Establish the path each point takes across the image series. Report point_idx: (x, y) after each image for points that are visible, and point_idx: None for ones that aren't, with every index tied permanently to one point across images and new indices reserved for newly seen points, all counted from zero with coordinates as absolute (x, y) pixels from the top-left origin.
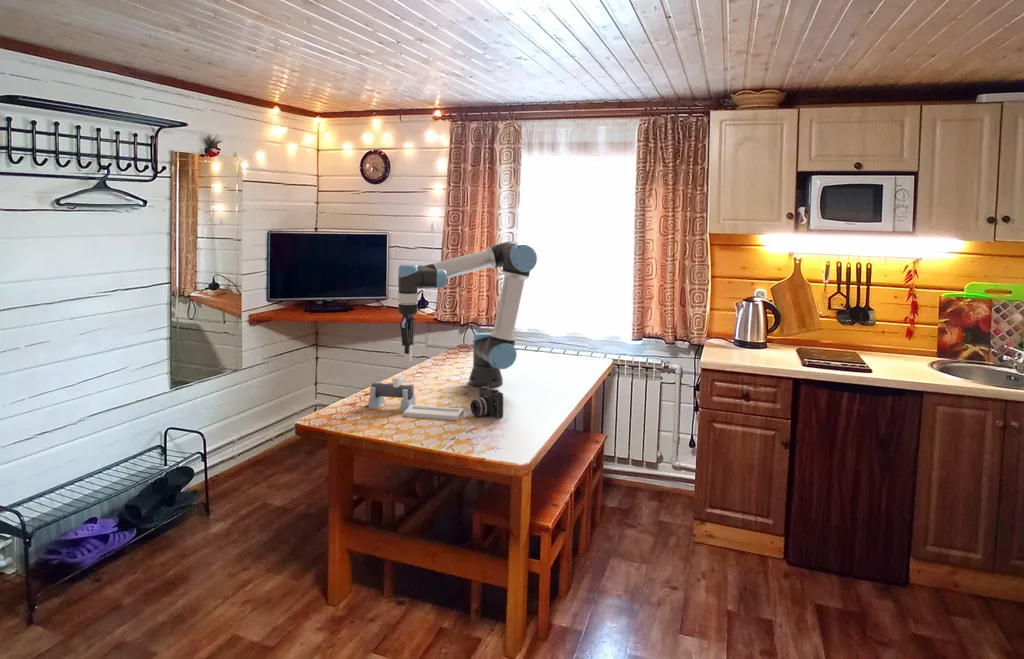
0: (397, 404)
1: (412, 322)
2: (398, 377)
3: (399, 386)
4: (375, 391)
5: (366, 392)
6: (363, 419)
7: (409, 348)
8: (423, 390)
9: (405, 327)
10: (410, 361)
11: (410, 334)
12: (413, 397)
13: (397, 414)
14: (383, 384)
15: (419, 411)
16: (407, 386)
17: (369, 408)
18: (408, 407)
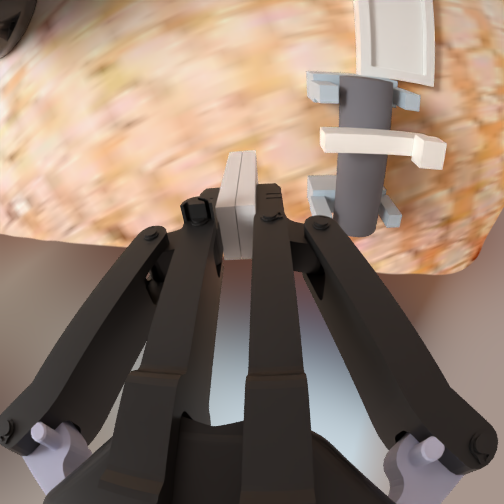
0: (317, 129)
1: (158, 473)
2: (430, 147)
3: None
4: (384, 206)
5: None
6: (452, 180)
7: (255, 200)
8: (125, 115)
9: (455, 408)
10: (253, 150)
11: (202, 301)
12: (336, 74)
13: None
14: (371, 198)
15: (397, 41)
16: (383, 99)
17: None
18: (388, 78)
